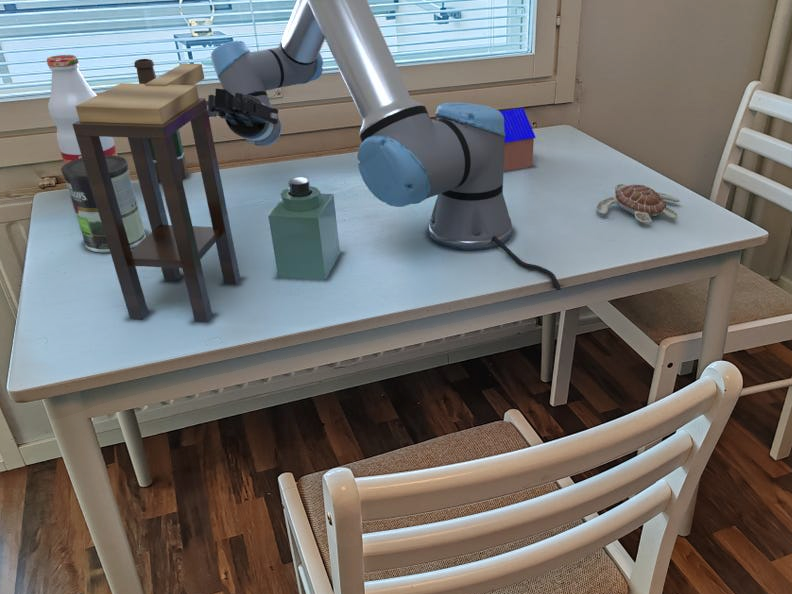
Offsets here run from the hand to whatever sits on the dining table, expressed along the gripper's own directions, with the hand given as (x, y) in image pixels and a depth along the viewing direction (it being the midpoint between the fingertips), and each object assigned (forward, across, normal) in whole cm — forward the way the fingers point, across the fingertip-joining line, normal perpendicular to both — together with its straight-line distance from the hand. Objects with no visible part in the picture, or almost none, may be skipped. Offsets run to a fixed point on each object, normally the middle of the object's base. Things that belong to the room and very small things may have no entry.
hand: (220, 98), depth 115 cm
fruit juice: (-32, +29, -19) cm, 47 cm away
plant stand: (+4, +3, -31) cm, 32 cm away
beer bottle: (-47, +21, -12) cm, 53 cm away
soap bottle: (-5, -14, -25) cm, 29 cm away
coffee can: (-17, +21, -25) cm, 37 cm away
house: (-48, -47, -2) cm, 67 cm away
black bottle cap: (0, -13, -14) cm, 19 cm away
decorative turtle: (-21, -76, -10) cm, 79 cm away
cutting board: (+10, +6, -2) cm, 12 cm away
